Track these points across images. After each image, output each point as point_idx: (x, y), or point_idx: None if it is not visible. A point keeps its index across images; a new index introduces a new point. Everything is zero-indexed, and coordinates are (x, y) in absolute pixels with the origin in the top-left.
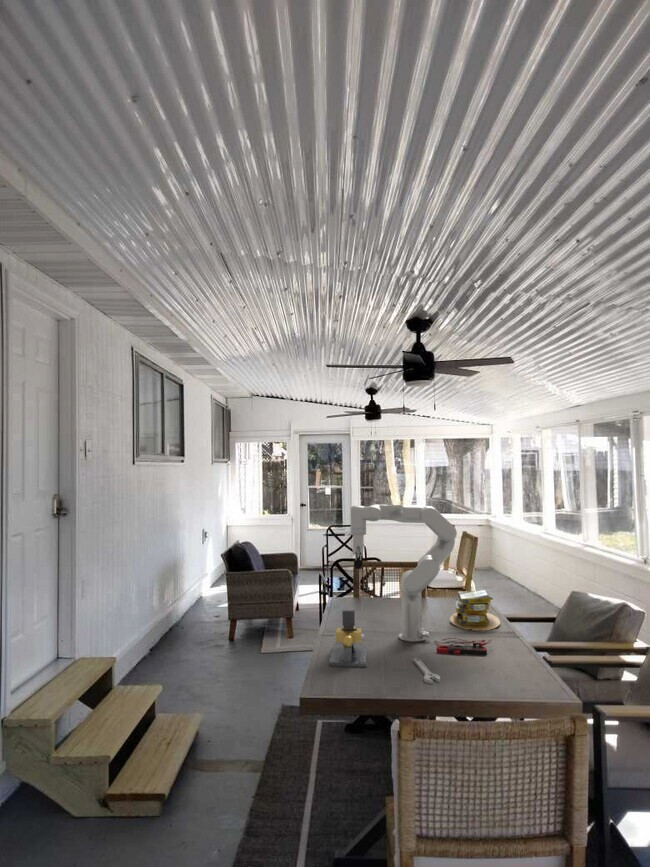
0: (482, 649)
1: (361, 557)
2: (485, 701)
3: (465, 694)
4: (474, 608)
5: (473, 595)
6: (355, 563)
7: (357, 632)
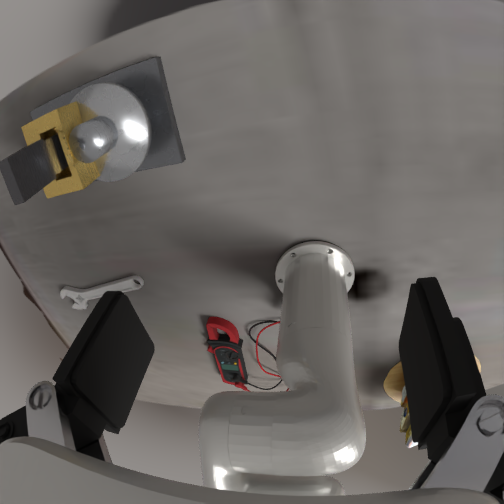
0: (226, 380)
1: (414, 442)
2: (60, 337)
3: (62, 324)
4: (403, 412)
5: None
6: (77, 345)
7: (46, 187)
